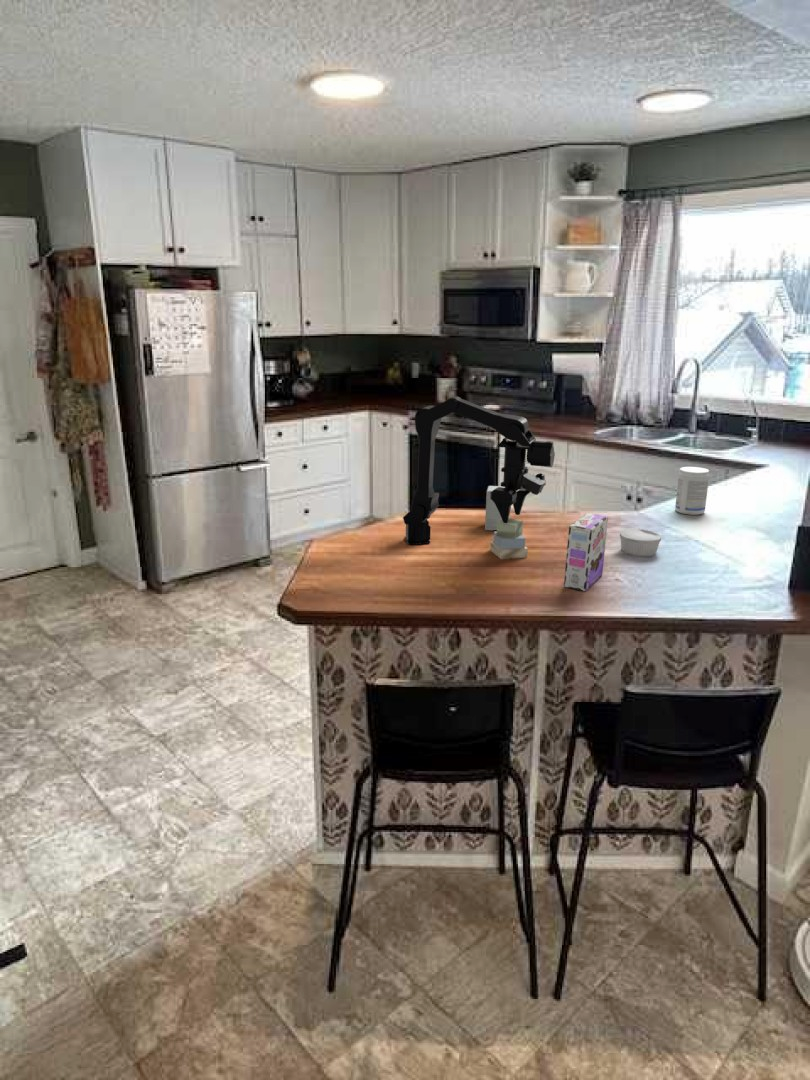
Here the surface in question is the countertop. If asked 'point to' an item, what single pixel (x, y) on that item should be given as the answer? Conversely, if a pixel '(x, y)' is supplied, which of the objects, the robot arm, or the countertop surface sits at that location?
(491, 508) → the supplement box
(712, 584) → the countertop surface
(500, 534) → the green block
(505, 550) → the birch base block
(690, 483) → the supplement tub
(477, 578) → the countertop surface
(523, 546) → the slate blue top block
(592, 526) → the candy box
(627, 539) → the ramekin
